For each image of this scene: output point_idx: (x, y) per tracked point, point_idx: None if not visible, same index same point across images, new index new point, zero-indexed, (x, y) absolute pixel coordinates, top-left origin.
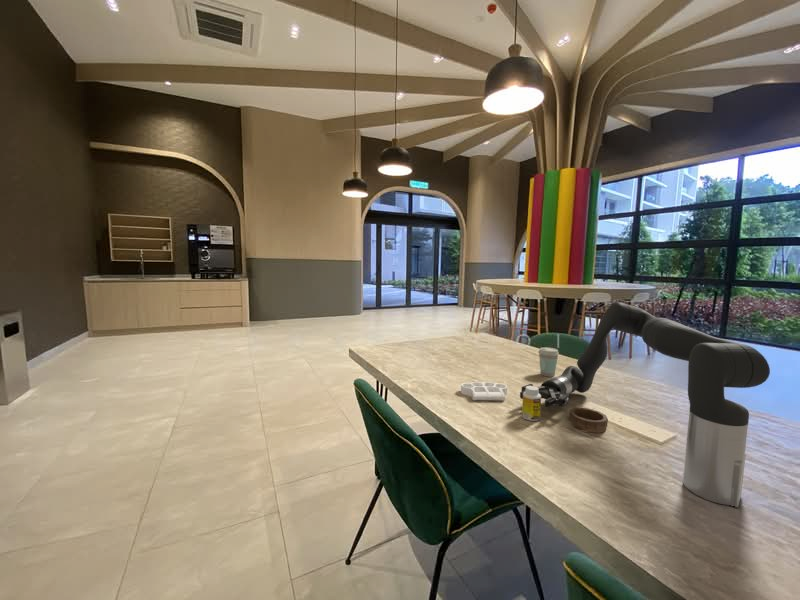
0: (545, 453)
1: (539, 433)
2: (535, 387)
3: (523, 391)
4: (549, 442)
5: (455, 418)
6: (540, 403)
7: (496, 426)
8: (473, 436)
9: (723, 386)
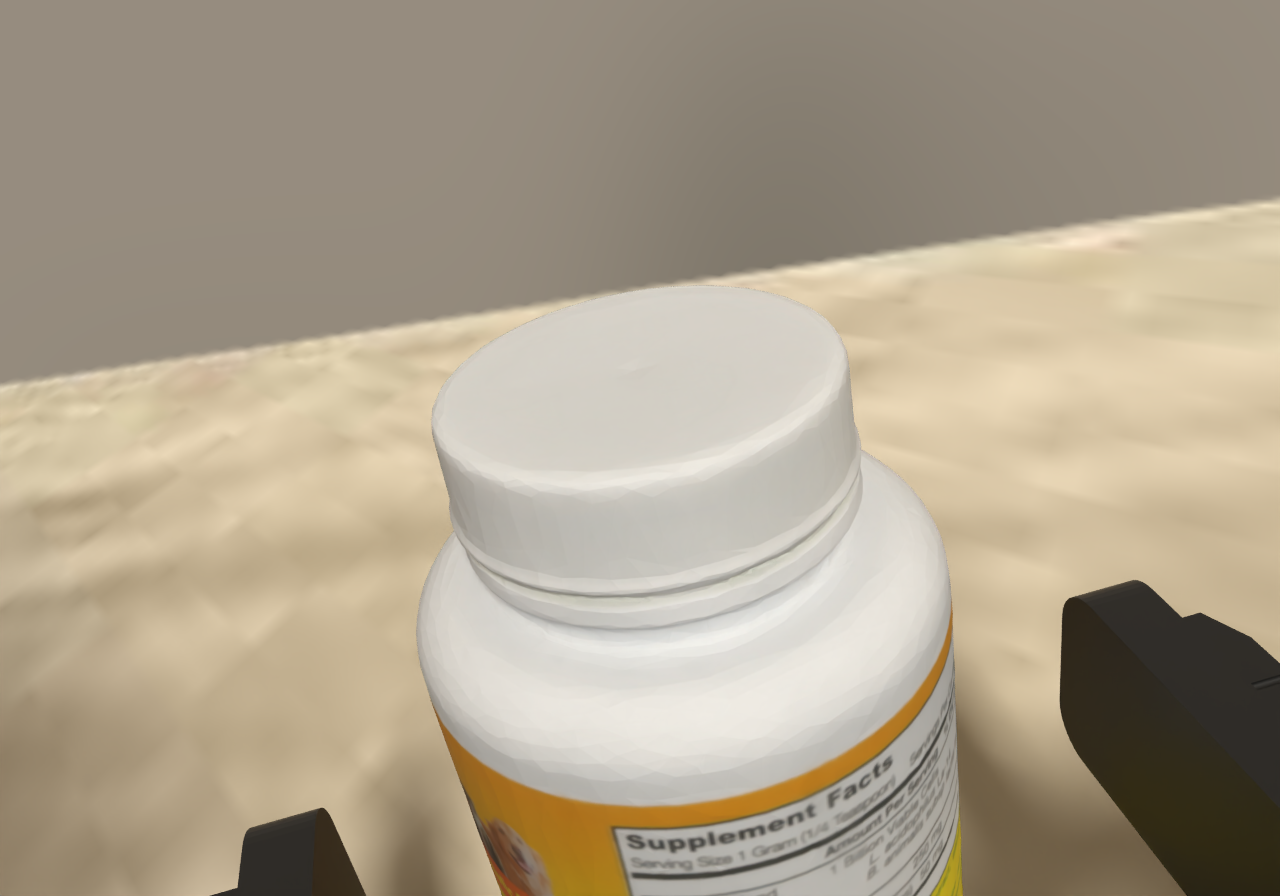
0: (61, 586)
1: (293, 767)
2: (604, 435)
3: (1212, 664)
4: (90, 733)
5: (1050, 281)
6: (479, 832)
7: None
8: None
9: None
